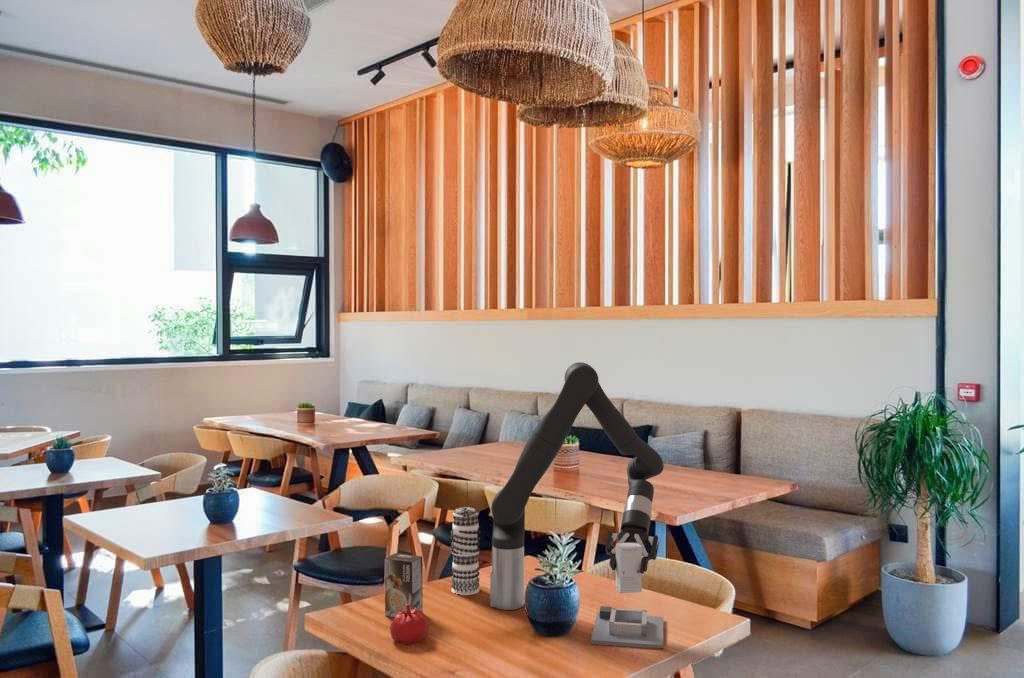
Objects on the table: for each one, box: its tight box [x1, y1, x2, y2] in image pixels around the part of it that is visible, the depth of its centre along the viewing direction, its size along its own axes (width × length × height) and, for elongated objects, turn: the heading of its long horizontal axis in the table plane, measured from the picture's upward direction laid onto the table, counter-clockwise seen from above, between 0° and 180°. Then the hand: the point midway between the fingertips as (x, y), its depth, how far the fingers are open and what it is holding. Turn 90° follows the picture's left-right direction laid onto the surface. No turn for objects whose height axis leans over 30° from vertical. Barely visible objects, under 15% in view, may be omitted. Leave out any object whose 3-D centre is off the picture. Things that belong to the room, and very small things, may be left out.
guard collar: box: [609, 607, 648, 637], centre depth 214 cm, size 9×11×3 cm
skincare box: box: [614, 542, 643, 594], centre depth 214 cm, size 6×4×12 cm
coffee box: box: [384, 552, 424, 618], centre depth 227 cm, size 9×6×16 cm
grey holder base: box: [590, 605, 664, 649], centre depth 214 cm, size 18×20×3 cm
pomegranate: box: [389, 604, 430, 646], centre depth 209 cm, size 10×10×9 cm
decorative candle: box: [450, 506, 481, 596], centre depth 247 cm, size 9×9×25 cm
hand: (627, 570), depth 213 cm, fingers closed on skincare box, 7 cm apart
